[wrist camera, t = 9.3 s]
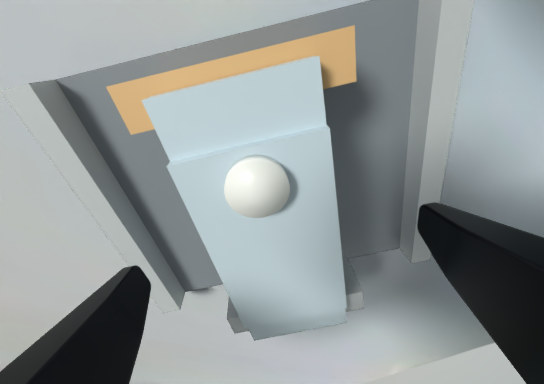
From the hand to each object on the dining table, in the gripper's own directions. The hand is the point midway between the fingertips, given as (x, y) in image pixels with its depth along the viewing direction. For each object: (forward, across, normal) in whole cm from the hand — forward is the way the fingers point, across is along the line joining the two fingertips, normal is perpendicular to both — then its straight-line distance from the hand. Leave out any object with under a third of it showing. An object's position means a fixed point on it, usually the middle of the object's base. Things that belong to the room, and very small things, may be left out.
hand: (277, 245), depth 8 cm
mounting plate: (+5, 0, 0) cm, 5 cm away
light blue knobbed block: (+4, 0, 0) cm, 4 cm away
